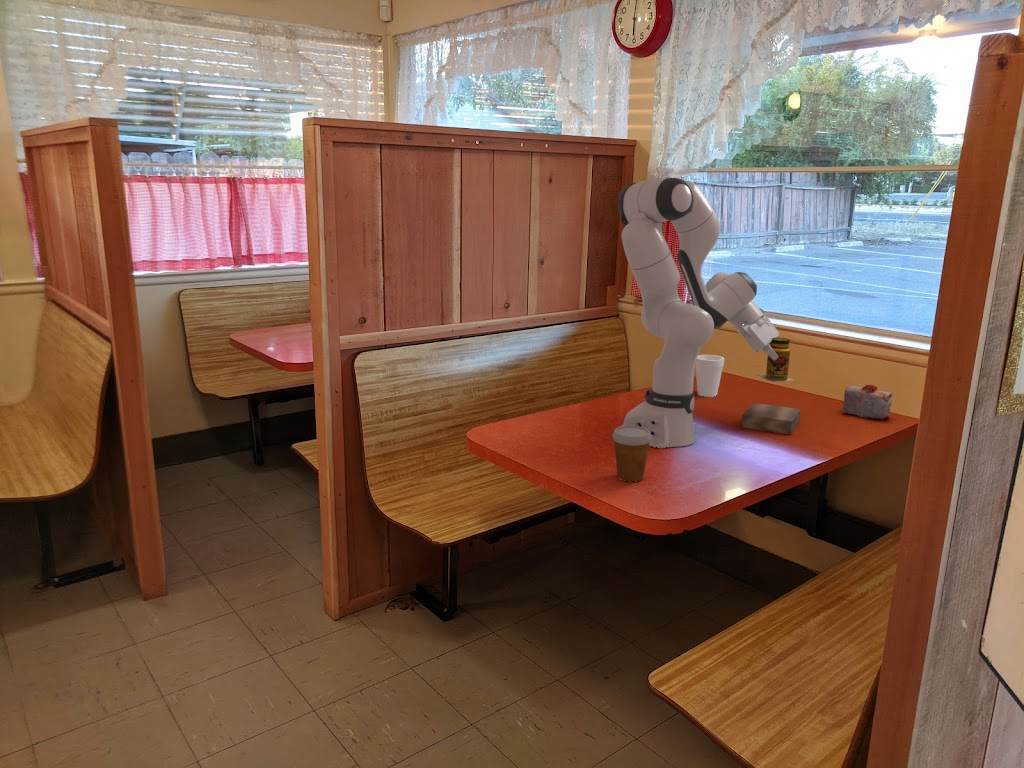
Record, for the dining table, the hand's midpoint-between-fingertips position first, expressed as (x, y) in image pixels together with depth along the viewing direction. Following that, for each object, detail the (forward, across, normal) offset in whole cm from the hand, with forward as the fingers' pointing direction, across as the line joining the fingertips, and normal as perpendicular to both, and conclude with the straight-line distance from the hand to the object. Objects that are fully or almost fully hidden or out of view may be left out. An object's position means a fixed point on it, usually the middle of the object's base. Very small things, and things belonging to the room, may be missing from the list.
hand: (779, 356), depth 219 cm
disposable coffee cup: (0, -61, +30) cm, 68 cm away
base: (+14, 0, +15) cm, 21 cm away
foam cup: (-4, +24, +34) cm, 42 cm away
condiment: (+4, +1, +6) cm, 7 cm away
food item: (+31, +25, -1) cm, 40 cm away
